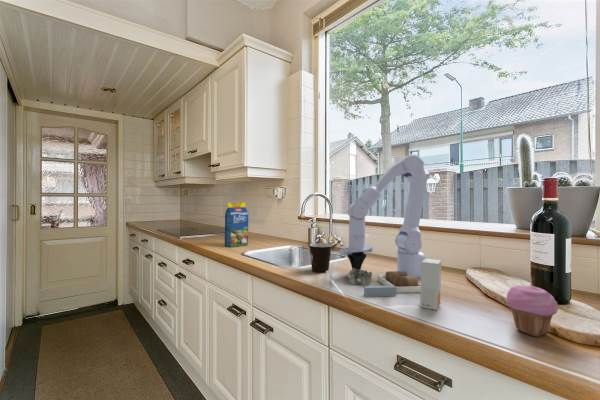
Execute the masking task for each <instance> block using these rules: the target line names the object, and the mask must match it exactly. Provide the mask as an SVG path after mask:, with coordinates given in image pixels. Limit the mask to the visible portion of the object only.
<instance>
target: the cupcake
mask: <svg viewBox="0 0 600 400" xmlns="http://www.w3.org/2000/svg"><path fill="white" fill-rule="evenodd" d="M506 304H507V306H509V308H510V311H511V313H512V316H513V320H514V321H513V322H514V325H515V328H516V329H517V330H518V331H520V332H522V333H526V334H527V335H529V336H532V337H540V336H542V335H547V334H548V333H549V332H550V329H551V321H552V318H553V315H555V314H557V312H558V309H559V305H558V301H556V299H555V297H554V296H553V295H552V294H551V293H549V292H548V291H547V290H545V289H544V288H541V287H537V286H532V285H513V287H511V288H509V290H508V291H507V294H506Z"/></svg>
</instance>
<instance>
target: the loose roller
mask: <svg viewBox="0 0 600 400" xmlns="http://www.w3.org/2000/svg"><path fill="white" fill-rule="evenodd" d="M418 283H419V280H418V278H416V276H395V277H394V286H395V287H404V286H418Z"/></svg>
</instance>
